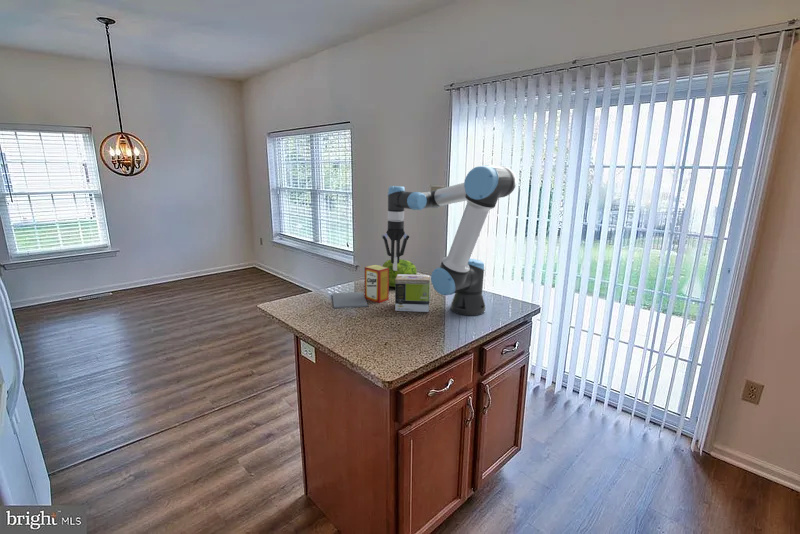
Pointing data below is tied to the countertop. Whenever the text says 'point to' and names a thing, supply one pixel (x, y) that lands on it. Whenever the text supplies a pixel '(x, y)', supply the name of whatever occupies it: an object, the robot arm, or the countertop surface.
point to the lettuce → (399, 270)
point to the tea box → (412, 292)
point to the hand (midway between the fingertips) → (394, 270)
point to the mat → (349, 300)
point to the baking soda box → (376, 283)
